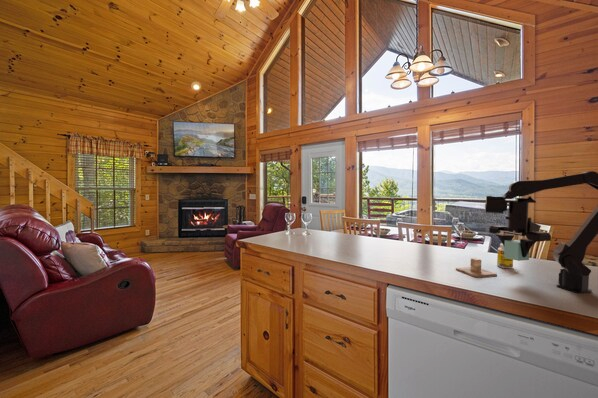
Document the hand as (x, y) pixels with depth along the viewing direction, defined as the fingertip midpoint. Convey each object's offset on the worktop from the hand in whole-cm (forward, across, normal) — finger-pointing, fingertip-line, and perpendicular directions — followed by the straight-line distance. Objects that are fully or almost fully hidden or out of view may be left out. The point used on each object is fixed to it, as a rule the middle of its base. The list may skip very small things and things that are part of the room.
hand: (516, 255), depth 99 cm
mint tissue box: (+1, 0, 0) cm, 1 cm away
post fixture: (+10, +11, +7) cm, 16 cm away
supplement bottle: (+10, +15, -13) cm, 22 cm away
